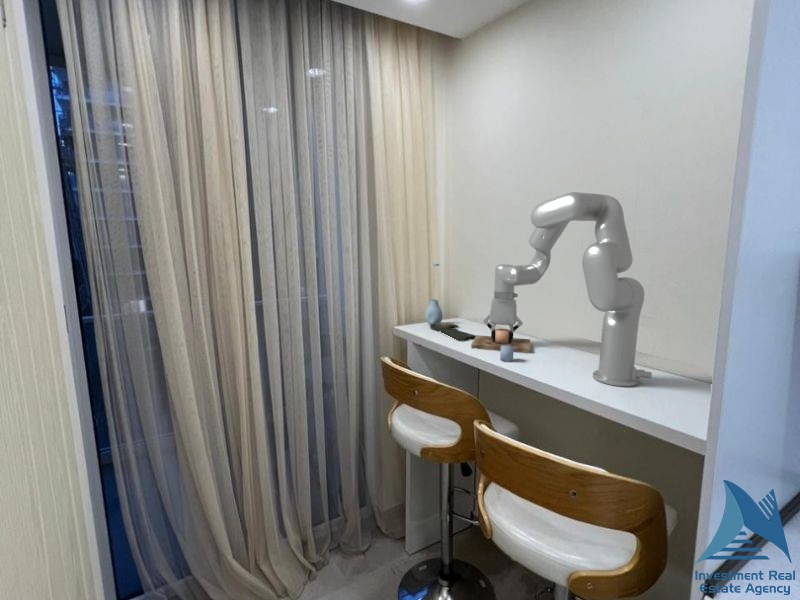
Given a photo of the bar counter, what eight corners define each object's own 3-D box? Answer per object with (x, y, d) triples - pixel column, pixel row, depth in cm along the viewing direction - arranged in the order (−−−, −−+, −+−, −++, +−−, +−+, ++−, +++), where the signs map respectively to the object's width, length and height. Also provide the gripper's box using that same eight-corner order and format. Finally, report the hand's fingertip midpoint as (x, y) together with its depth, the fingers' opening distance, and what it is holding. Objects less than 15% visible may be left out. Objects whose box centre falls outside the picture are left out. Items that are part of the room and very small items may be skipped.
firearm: (488, 334, 179) (460, 338, 172) (488, 339, 179) (459, 343, 172) (451, 321, 203) (424, 324, 197) (451, 326, 204) (424, 329, 197)
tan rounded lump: (509, 341, 169) (510, 329, 168) (509, 344, 163) (509, 332, 162) (495, 340, 170) (495, 328, 169) (493, 343, 165) (494, 331, 164)
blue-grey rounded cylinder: (513, 359, 149) (513, 345, 148) (512, 362, 145) (513, 348, 144) (500, 358, 150) (501, 344, 149) (499, 361, 146) (500, 347, 145)
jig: (530, 342, 171) (530, 339, 171) (530, 353, 156) (530, 349, 156) (476, 338, 178) (476, 335, 178) (471, 348, 163) (471, 344, 162)
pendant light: (435, 322, 209) (436, 263, 204) (445, 325, 202) (447, 264, 197) (422, 324, 205) (423, 263, 200) (431, 327, 198) (433, 264, 193)
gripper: (526, 295, 165) (524, 340, 168) (482, 293, 170) (481, 336, 173) (526, 298, 158) (524, 344, 161) (480, 296, 163) (479, 341, 166)
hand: (501, 340), depth 167 cm, fingers closed on tan rounded lump, 5 cm apart
